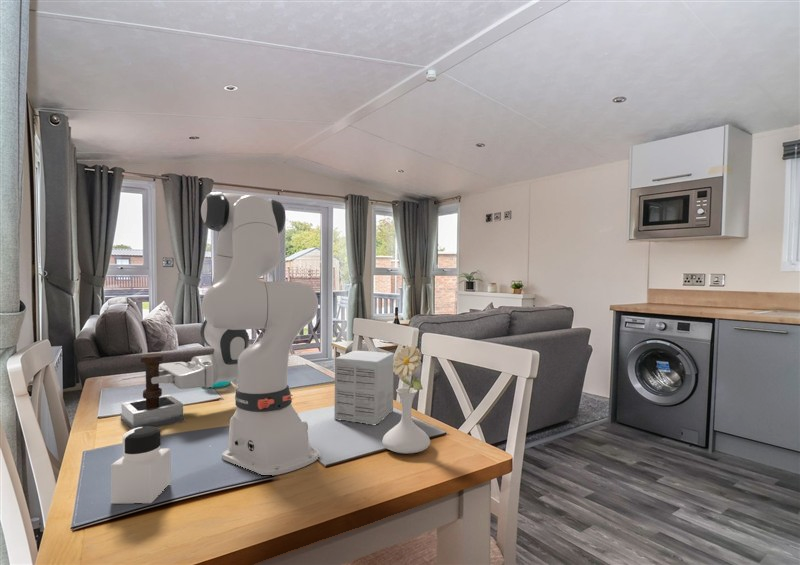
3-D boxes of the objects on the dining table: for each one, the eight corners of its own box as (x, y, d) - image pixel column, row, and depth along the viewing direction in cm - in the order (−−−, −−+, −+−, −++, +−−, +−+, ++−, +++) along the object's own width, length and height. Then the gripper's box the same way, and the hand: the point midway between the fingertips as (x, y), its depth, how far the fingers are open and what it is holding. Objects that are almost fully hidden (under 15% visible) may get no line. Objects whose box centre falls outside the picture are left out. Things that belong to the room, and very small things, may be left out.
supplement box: (353, 406, 133) (354, 349, 132) (393, 411, 129) (394, 352, 128) (333, 420, 120) (333, 357, 120) (376, 426, 116) (377, 361, 115)
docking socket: (184, 421, 118) (184, 404, 118) (134, 432, 110) (134, 414, 110) (167, 408, 128) (167, 393, 128) (120, 418, 120) (120, 402, 119)
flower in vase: (375, 442, 105) (376, 340, 104) (418, 436, 109) (420, 338, 108) (394, 465, 93) (395, 349, 92) (441, 457, 97) (443, 346, 96)
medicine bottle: (171, 484, 84) (171, 423, 83) (151, 504, 77) (151, 437, 76) (133, 484, 83) (133, 423, 83) (110, 504, 76) (109, 437, 76)
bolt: (168, 406, 121) (167, 353, 121) (156, 412, 116) (155, 357, 116) (149, 406, 122) (148, 353, 121) (136, 411, 117) (135, 356, 116)
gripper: (188, 355, 135) (138, 361, 125) (214, 365, 120) (160, 374, 111) (188, 375, 135) (138, 383, 125) (214, 388, 121) (160, 398, 111)
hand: (148, 378), depth 118 cm, fingers closed on bolt, 3 cm apart
